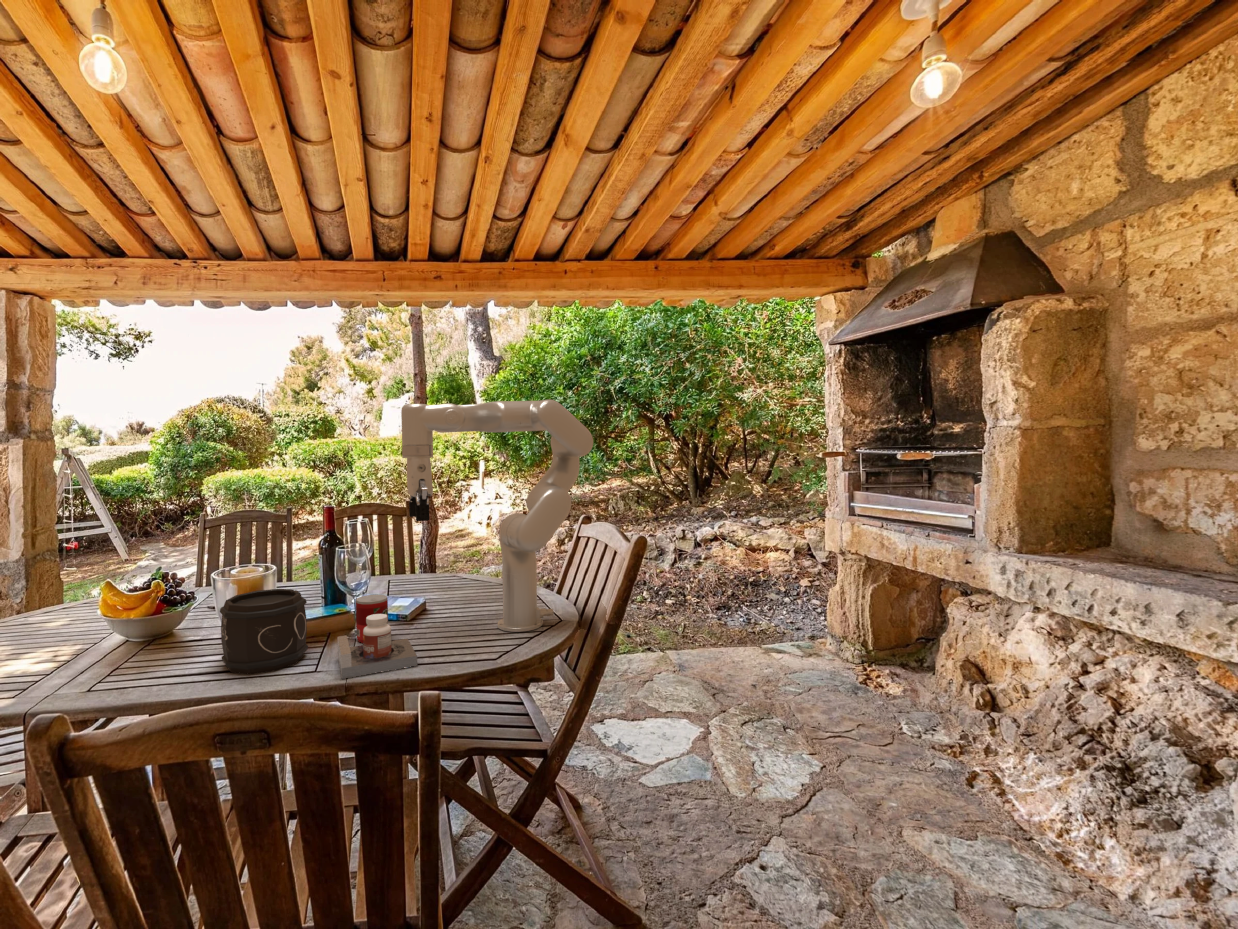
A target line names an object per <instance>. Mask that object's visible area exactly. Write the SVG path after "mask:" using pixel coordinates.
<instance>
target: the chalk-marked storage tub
mask: <svg viewBox="0 0 1238 929" xmlns="http://www.w3.org/2000/svg"><path fill="white" fill-rule="evenodd" d="M307 603H308V602H307V600H306V598H304V597H303V596H302V594H301V592H300V591H298V590H297V589H295V590H294V589H293V588H292V589H291V588H290V589H289V588H273V589H272V588H271V589H262V590H255V591H254V590H253V591H249V592H244V593H240V594H237V595H234V596H232V597H230V598H228V599H226V600H225V601H224V605H223V606H221V607H220V608H219V613H220V614H221V623H220V624H221V625H220V638H221V647H222V652H223V655H222V656H221V661H222V662H223V663H224V664H225V666H226V667H227V669H228V670H229V671H230V673H231V674H239V675H241V674H242V675H257V674H263V673H269V672H270V673H271V672H276V671H279V670H282V669H284V668H287V666H288V667H290V665H291V666H294V665H295V664H296V663H298V662H299V661H300V660H302V659H303V657H304V655H305V652H306V651H308V649H309V645H308V644H306V643H307V634H308V629H307V628H308V627H307V615H306V614H307V613H306V607H305V606H306V604H307ZM293 664H294V665H293Z"/></svg>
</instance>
